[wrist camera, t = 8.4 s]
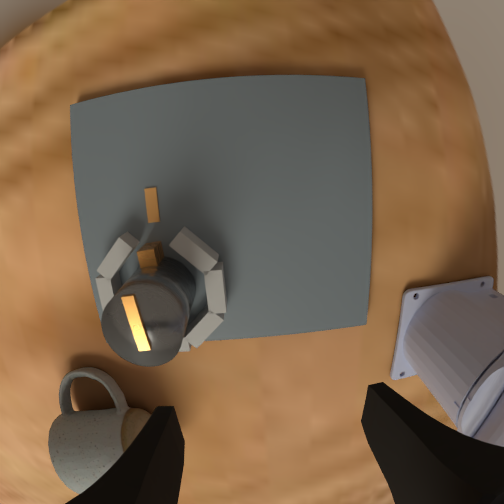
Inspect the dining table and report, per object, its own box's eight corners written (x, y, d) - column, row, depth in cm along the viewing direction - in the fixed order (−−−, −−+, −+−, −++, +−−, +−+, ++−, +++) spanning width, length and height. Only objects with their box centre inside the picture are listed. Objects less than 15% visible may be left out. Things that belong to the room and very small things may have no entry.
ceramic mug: (181, 443, 24) (171, 512, 17) (110, 451, 24) (89, 509, 17) (121, 351, 21) (83, 420, 14) (48, 369, 22) (6, 424, 14)
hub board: (360, 81, 17) (374, 72, 15) (362, 319, 21) (374, 335, 19) (75, 106, 16) (58, 101, 14) (110, 337, 21) (99, 354, 18)
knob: (201, 312, 20) (191, 365, 14) (142, 319, 20) (115, 371, 14) (185, 236, 18) (164, 267, 13) (122, 247, 18) (82, 281, 13)
